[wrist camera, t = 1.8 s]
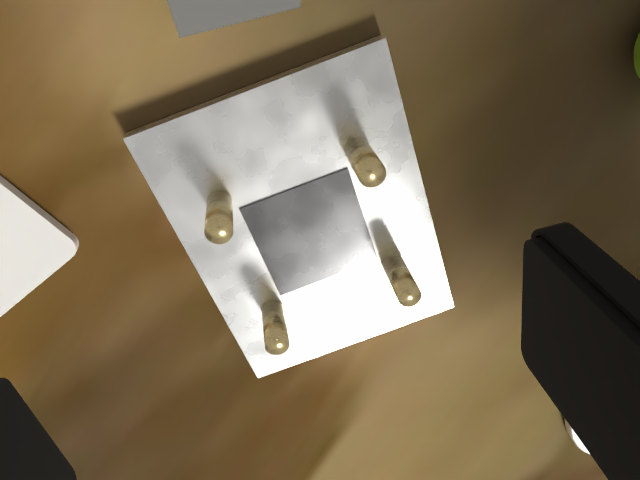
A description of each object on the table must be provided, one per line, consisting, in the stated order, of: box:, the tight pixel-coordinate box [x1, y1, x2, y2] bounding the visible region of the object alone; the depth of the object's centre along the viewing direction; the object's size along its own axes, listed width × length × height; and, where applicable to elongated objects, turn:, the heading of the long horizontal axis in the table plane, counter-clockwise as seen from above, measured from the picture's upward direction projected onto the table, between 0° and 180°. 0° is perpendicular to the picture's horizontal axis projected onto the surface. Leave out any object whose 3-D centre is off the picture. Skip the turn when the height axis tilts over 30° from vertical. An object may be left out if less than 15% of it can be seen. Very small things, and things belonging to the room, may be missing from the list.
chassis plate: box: [123, 35, 454, 378], centre depth 30 cm, size 14×18×4 cm
